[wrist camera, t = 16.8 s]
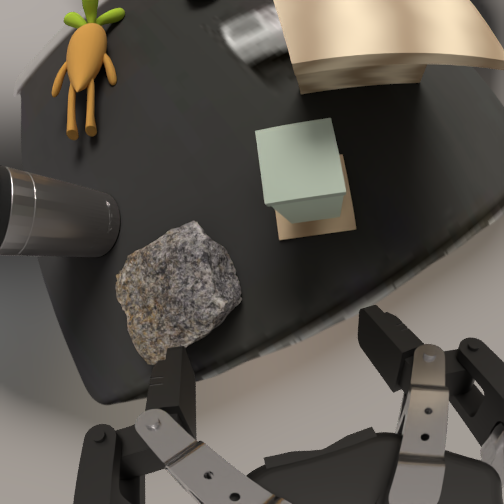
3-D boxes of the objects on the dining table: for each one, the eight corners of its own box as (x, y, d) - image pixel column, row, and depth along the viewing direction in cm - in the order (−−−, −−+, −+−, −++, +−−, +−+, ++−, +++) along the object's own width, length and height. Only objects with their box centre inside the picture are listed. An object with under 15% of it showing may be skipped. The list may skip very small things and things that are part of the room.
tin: (290, 224, 30) (264, 203, 19) (284, 176, 31) (255, 131, 19) (341, 217, 29) (346, 191, 18) (332, 169, 29) (330, 117, 18)
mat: (279, 240, 31) (279, 240, 31) (269, 167, 32) (268, 166, 31) (356, 229, 29) (356, 229, 29) (342, 155, 30) (342, 154, 29)
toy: (125, 144, 47) (124, 25, 45) (121, 110, 34) (127, -19, 32) (59, 157, 43) (69, 35, 40) (35, 128, 29) (61, -8, 27)
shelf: (315, 159, 30) (292, 63, 14) (299, 87, 31) (266, -22, 14) (442, 145, 26) (510, 61, 10) (416, 76, 27) (448, -25, 10)
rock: (214, 213, 34) (125, 273, 37) (185, 203, 27) (90, 274, 31) (265, 315, 31) (163, 361, 35) (245, 327, 25) (132, 376, 29)
